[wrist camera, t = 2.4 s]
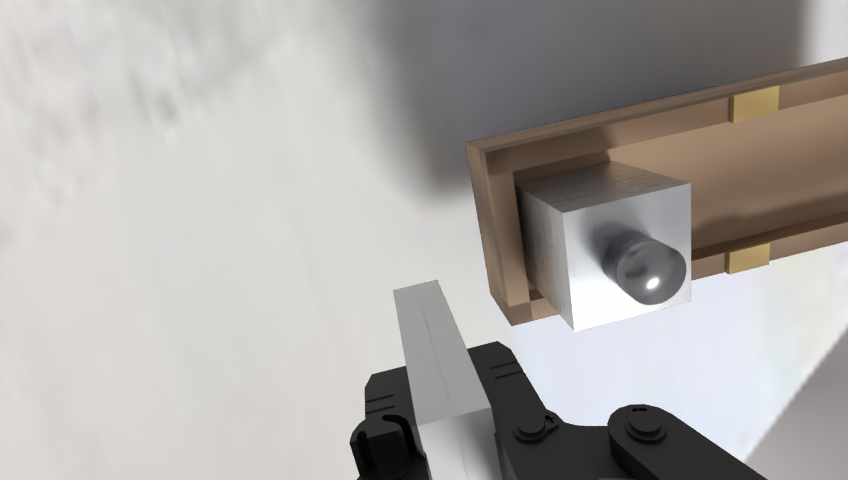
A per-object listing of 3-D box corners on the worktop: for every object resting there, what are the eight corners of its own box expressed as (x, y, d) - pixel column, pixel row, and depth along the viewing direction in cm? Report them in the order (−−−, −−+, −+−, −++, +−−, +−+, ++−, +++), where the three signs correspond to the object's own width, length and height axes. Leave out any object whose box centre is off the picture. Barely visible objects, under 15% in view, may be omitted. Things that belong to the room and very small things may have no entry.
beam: (448, 133, 25) (486, 151, 18) (831, 48, 27) (1006, 34, 20) (472, 266, 28) (513, 329, 21) (818, 182, 30) (969, 213, 22)
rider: (513, 183, 20) (583, 226, 14) (612, 160, 20) (724, 192, 14) (526, 277, 21) (594, 353, 15) (618, 254, 22) (721, 320, 15)
